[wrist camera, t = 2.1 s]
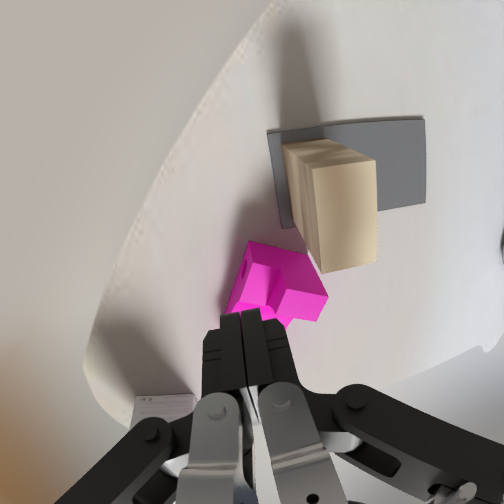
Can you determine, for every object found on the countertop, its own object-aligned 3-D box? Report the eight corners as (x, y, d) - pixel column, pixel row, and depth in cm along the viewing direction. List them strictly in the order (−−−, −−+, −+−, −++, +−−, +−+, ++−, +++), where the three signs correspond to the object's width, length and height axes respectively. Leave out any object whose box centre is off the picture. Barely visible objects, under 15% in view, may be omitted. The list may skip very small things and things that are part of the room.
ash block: (324, 137, 26) (375, 160, 17) (331, 210, 29) (376, 261, 20) (280, 143, 26) (312, 169, 17) (291, 217, 29) (321, 274, 20)
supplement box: (208, 424, 45) (210, 517, 30) (155, 426, 44) (148, 514, 30) (193, 391, 40) (190, 500, 25) (134, 394, 40) (117, 495, 25)
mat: (423, 119, 25) (424, 119, 25) (423, 201, 30) (425, 202, 29) (266, 134, 25) (267, 134, 25) (282, 227, 30) (282, 229, 29)
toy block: (248, 239, 30) (256, 282, 24) (307, 254, 32) (328, 296, 25) (212, 348, 37) (212, 397, 30) (261, 356, 38) (268, 403, 31)
